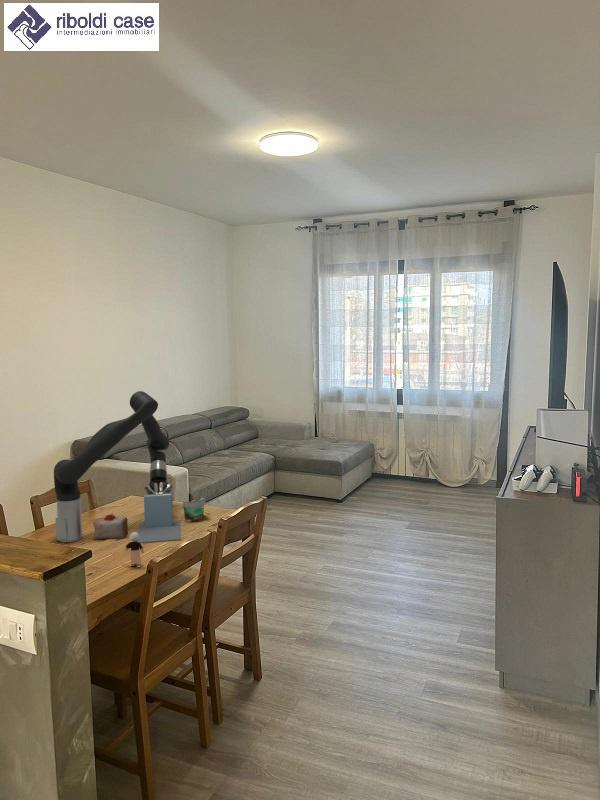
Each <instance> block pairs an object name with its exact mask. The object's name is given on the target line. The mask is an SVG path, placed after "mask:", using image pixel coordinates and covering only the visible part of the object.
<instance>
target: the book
mask: <svg viewBox="0 0 600 800" xmlns="http://www.w3.org/2000/svg"><path fill="white" fill-rule="evenodd" d="M143 506H144V508H143V510H144V511H143V512H144V523H145V528H152V527H165V526H173V521H174V512H173V510H174V509H173V493H172V492H170V493H164V492H163V494H159V493H158V494H155V493H154V494H147V493H146V494H144V495H143Z"/></svg>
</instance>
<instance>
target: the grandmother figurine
mask: <svg viewBox="0 0 600 800" xmlns="http://www.w3.org/2000/svg"><path fill="white" fill-rule="evenodd" d="M138 536H139V535H138V531H137V532H136V531H134V532H132V533H131V534H130V535H129V537H128V539H129V540H131V541H130V542H129V543H126V545H125V549H124V551H125V552H128V550H130V563H131V565H130V567H131V566H135V565H136V566H141V567H143V566H144V564H143V563H142V559H141V558H142V557H141V554H145V551H144V547H143V544H140V543H139V542H136V541H137V540H138ZM142 565H143V566H142ZM136 566H135V567H136Z"/></svg>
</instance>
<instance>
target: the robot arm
mask: <svg viewBox="0 0 600 800" xmlns="http://www.w3.org/2000/svg"><path fill="white" fill-rule="evenodd" d="M129 406H130V407H131V409H132V411H134V413H132V414H131V415H130V416H127V417H126V418H123V419H119V420H115V421H111V422H109V423H107V424H105V425H103V427H101V428H100V429H99V430H98V431H96V433H94V434H93V436H92V437H91V438H90V439H89V441H88V443H87V444H86V445H85V447H84V448H83V449H82V450H81V452H79V453H78V454H76V456H74V457H73V458H71V459H61V460H59V461H58V462H57V463H56V464H55V465H54V469H53V481H54V482H53V483H54V493H55V497H56V509H57V510H56V511H57V513H56V514H57V517H55V530H56V531H55V532H56V541H57V540H58V542H60V543H61V542H62V541H63V542H62V543H64V542H65V543H64V544H67V543H72V542H77V541H79V540H81V539H83V521H82V520H83V519H82V504H81V502H82V501H81V491H80V488H79V483H78V481H79V479H81V477H82V476H83V475H84V474H85V473H86V472H87V471H88V470H89V469H90V468H91V467H92V466H93V465H94V464H95V463H96V462H97V461H99V460H100V459H101V458H102V457H103V456H105V455H106V454H107V453H108V452H109V451H111V450H112V449H114V447H115V446H116V445H117V444H119V443H120V442H121V441H122V440H123V439H124V438H125V437H127V435H128V434H130V433H131V432H132V431H133V430H134V429H136V428H137V427H139V426H140V425H142V428H143V430H144V433H145V434H146V437H147V440H146V442H145V443H146V448H147V449H148V452H149V457H150V466H149V483H148V485H147V486H144V491H145V493H146V495H147V494H163V493H172V492H171V491H172V490H173V485H172V484H169V482H168V475H167V472H168V471H167V469H168V468H167V462H166V461H167V460H166V458H167V457H166V454H165V452H164V451H166V450H168V448H169V446H170V440H169V438H168V437H167V435H166V434H165V433H164V432H163V431H162V429H161V425H160V423H159V422H158V421H157V419H156V417H154V414H155V413H156V412H157V410H158V408H159V403H158V401H157V400H156V399H155V398H153V397H152V396H151V395H149V394H148V393H147V392H146V391H142V390H139V391H136V392H134V393H133V394H132V395H131V397H130V399H129ZM153 492H154V493H153ZM66 542H67V543H66Z"/></svg>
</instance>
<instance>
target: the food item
mask: <svg viewBox="0 0 600 800" xmlns="http://www.w3.org/2000/svg"><path fill="white" fill-rule="evenodd" d="M92 524H93V527H94V539H95V540H97V539H99V540H108V539H125V538H127V536H128V535H129V527H128V517H125V516H124V517H121V516H120V517H116V516H115V515H114V513H111V514H106V516H105V517H98V518H96V519H95V520H94V521H93V522H92Z"/></svg>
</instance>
